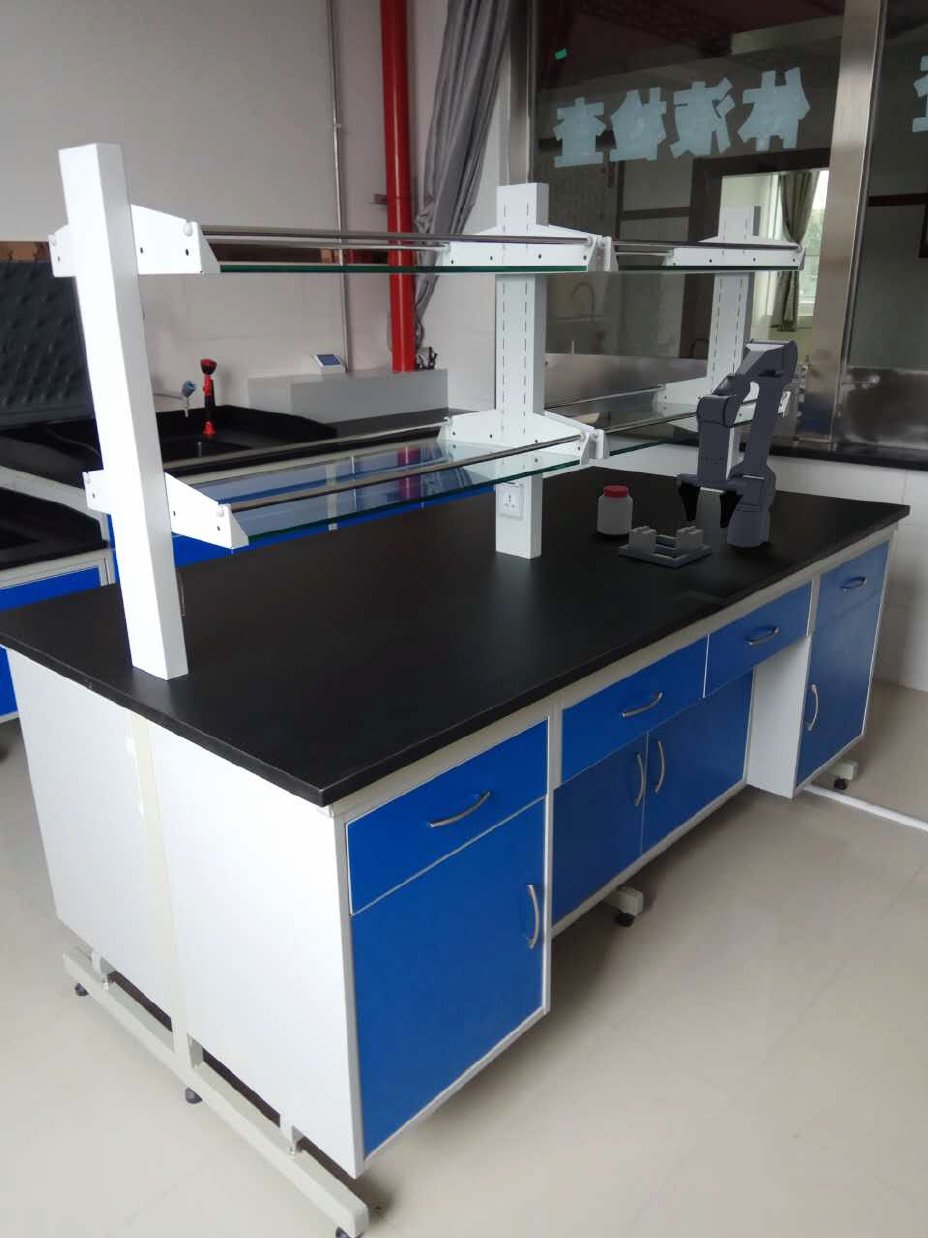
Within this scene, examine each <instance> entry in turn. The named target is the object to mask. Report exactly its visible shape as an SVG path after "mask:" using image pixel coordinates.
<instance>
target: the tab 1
mask: <svg viewBox="0 0 928 1238" xmlns="http://www.w3.org/2000/svg"><path fill="white" fill-rule="evenodd" d="M656 534H657V530H656V529H654V528H653V529H652V528H650V526H647V525H644V526H639V527H636V528H633V529H631V530H630V532H629V533H628V535H629V536H628V544H629V548H630V549H635V550H639V551H643V552H647V553H652V554H656V552H655V544H657V543H656Z"/></svg>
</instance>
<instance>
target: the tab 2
mask: <svg viewBox="0 0 928 1238" xmlns="http://www.w3.org/2000/svg"><path fill="white" fill-rule="evenodd" d="M675 538H676V547H675V546H674V548H676V549H680V550H685V551H689V552H693V551H695V550H698V549H700V548H702V544H703V541H704V530H703V529H697V526H695V525H693V526H690V527H688V526H686V527H684V528H681V529H678V530H676V536H675Z"/></svg>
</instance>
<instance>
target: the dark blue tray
mask: <svg viewBox="0 0 928 1238" xmlns="http://www.w3.org/2000/svg"><path fill="white" fill-rule="evenodd" d="M657 543H658V544H657ZM666 545H667V546H666ZM670 546H671V547H670ZM675 547H676V536H670V535H664V534H657V533H656V543H655V553H653V554H652V553H647V552H643V551H639V550H635V549H630V548H629V543H628V544H625V545H621V546H620V547H618V555H621V556H627V557H629V558H634V559H638V560H643V561H646V562H650V563H655V564H659V565H663V566H667V567H671V568H678V567H680V566H682V565H685V564H688V563H690V562H692V561H695V560H698V559H700V558H702V557H705V556H707V555H710V554H712V550H713V549H712V548H713V546H710V545H708V544H707V545H706V544H703V543H702V548H700V549H698V550H695V551H693V552H689V551H685V550H680V549H676V548H675ZM674 557H675V558H674Z"/></svg>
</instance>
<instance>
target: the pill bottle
mask: <svg viewBox="0 0 928 1238" xmlns="http://www.w3.org/2000/svg"><path fill="white" fill-rule="evenodd" d="M633 501H634V500H633V498H632V497H631V496H630V494H629V487H627V486H624V485H623V486H622V485H606V486H605V487H604V488H603V494H602V495H601V496H599V497H598V507H597V510H598V511H597V526H596V527H597V532H600V533H602V534H606V535H615V536H617V535H618V536H619V535H625V534H629V533H630V530H632V521H633V520H632V519H633V503H634V502H633Z"/></svg>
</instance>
